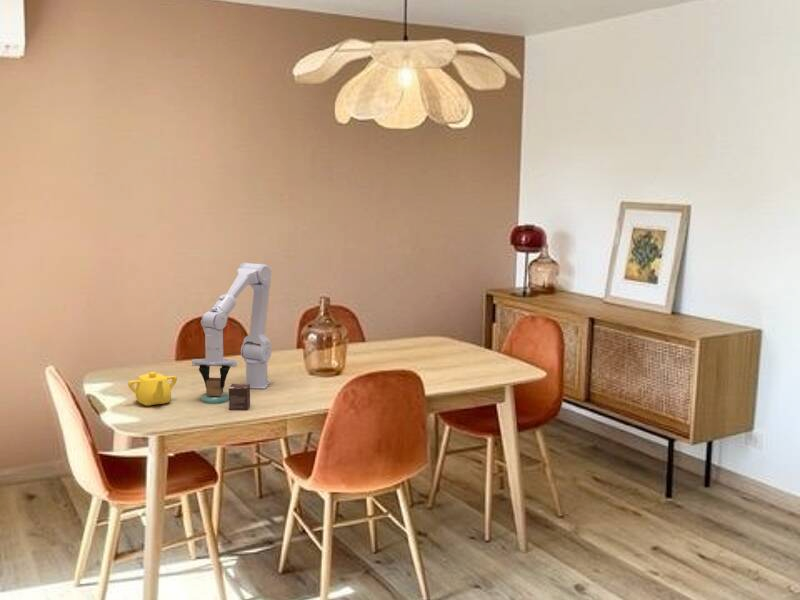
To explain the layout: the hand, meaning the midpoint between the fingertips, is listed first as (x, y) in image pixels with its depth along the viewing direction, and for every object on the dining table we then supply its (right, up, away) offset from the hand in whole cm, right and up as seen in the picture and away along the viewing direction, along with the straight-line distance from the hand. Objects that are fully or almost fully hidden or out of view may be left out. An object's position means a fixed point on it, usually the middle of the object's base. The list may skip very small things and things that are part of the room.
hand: (215, 387), depth 273 cm
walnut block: (0, -2, 0) cm, 2 cm away
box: (+10, -6, -7) cm, 13 cm away
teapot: (-19, -5, -4) cm, 20 cm away
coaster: (0, -5, +1) cm, 5 cm away
